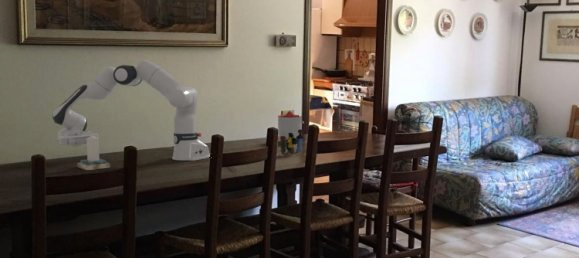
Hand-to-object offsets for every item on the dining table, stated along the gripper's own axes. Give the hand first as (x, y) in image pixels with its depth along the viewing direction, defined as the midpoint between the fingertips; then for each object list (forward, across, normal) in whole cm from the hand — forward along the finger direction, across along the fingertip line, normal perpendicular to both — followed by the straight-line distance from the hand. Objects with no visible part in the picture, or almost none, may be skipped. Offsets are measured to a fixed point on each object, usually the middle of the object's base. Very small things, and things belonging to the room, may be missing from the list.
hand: (84, 140), depth 313 cm
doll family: (+46, +102, +14) cm, 113 cm away
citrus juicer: (+9, +132, +14) cm, 133 cm away
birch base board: (+12, -1, +12) cm, 18 cm away
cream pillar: (+12, -1, +10) cm, 16 cm away
